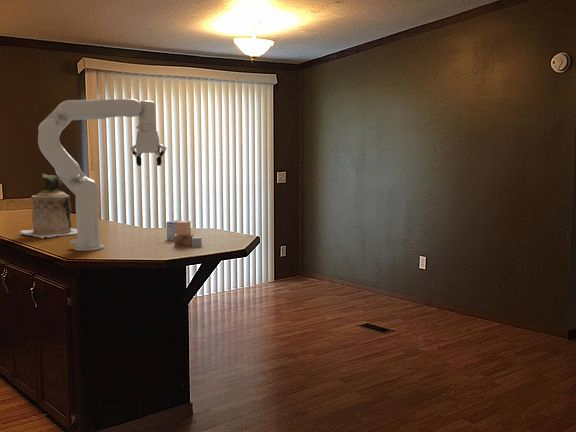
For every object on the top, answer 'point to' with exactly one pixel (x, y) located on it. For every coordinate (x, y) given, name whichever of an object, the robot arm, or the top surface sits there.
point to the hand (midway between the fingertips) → (149, 165)
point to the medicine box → (171, 229)
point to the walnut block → (183, 240)
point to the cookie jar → (51, 210)
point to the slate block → (196, 241)
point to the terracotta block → (183, 228)
